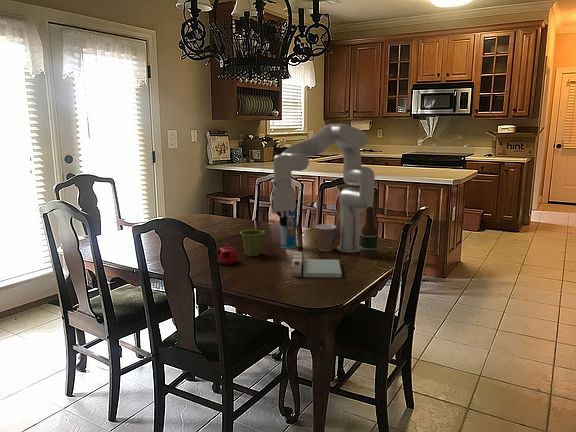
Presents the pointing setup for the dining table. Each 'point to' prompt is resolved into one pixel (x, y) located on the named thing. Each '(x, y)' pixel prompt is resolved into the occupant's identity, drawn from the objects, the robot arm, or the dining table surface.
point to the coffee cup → (326, 236)
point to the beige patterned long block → (297, 264)
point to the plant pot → (252, 241)
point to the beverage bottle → (289, 232)
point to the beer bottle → (368, 236)
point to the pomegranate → (227, 255)
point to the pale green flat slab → (321, 268)
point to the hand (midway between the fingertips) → (283, 225)
